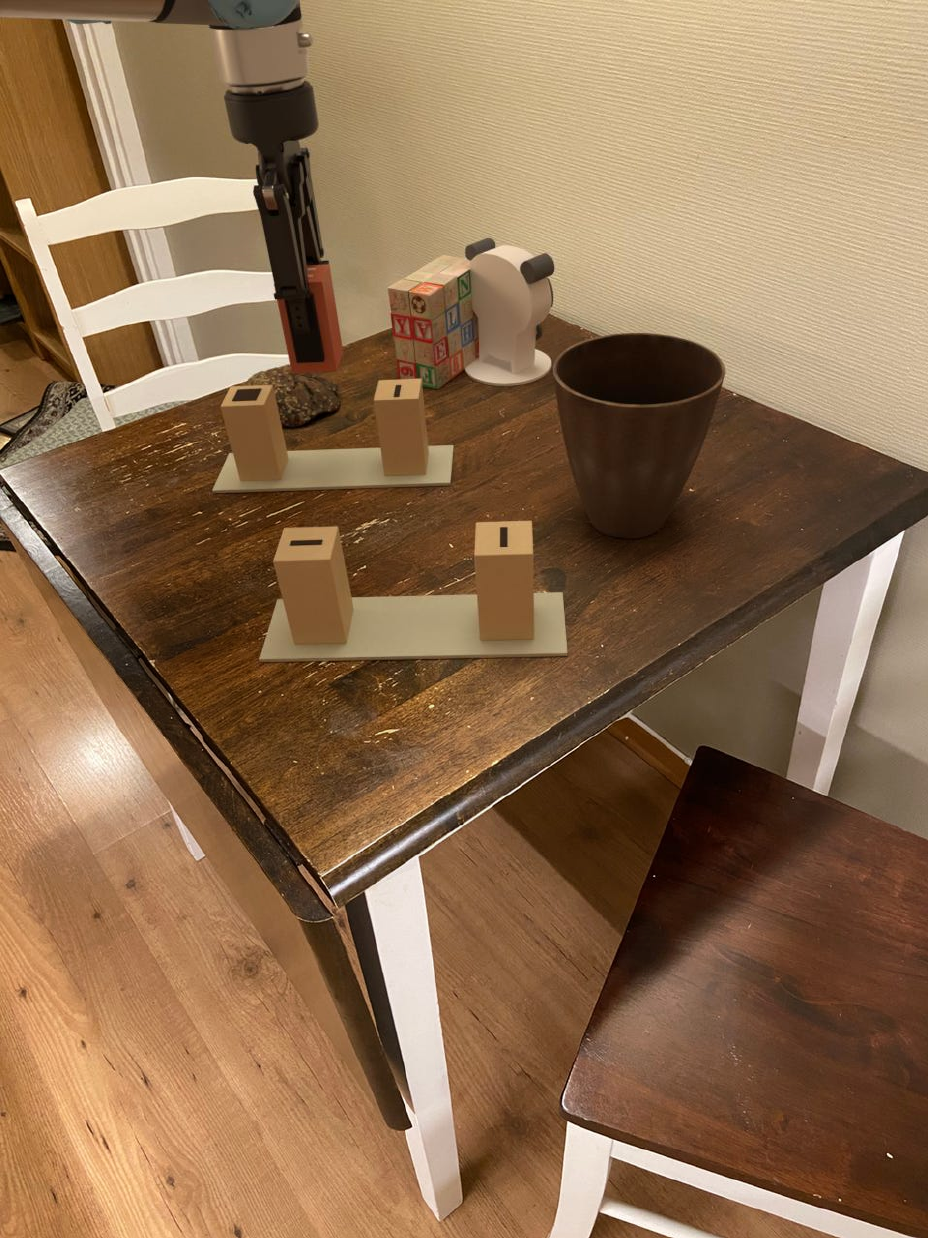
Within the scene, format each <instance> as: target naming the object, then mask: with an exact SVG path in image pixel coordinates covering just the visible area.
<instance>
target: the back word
mask: <svg viewBox="0 0 928 1238" xmlns="http://www.w3.org/2000/svg"><path fill="white" fill-rule="evenodd" d="M423 387H424V386H422V379H399V378H398V379H380V380H378V381H377V385H376V389H375V393H374V397H373V404H374V405H373V406H374V412H375V418H376V427H377V435H378V441H379V447H362V448H361V447H360V448H332V449H330V448H329V449H307V450H287V444H286V439H285V436H284V431H283V426H282V425H281V421H280V416H279V412H278V407H277V402H276V398H275V393H274V388H273V385H256V386H240V385H235V386H234V385H233V386H230V387H229V389H228V391H227V393H226V395H225V397H224V399H223V401H222V403H221V405H220V410H221V414H222V418H223V421H224V425H225V429H226V433H227V436H228V437H227V438H228V440H229V444H230V449H231V451H232V452H229V453H228V455H227V457H226V459H225V462H224V464H223V466H222V468H221V471H220V472H219V475H218V476H217V478H216V481H215V483H214V485H213V488H212V490H211V491H212V494H233V493H234V494H235V493H236V494H237V493H263V492H264V493H265V492H295V491H324V490H327V491H328V490H352V489H354V490H357V489H385V488H388V489H389V488H416V487H419V488H420V487H443V486H447V487H448V486H451V485H452V473H453V462H454V449H455V446H454V444H443V445H442V444H440V445H439V444H438V445H429V440H428V429H427V428H428V427H427V421H426V420H427V419H426V409H425V399H424V390H423V389H424V388H423Z"/></svg>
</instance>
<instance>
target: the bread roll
mask: <svg viewBox="0 0 928 1238" xmlns="http://www.w3.org/2000/svg"><path fill="white" fill-rule="evenodd" d="M256 385H273V388H274V393H275V398H276V402H277V407H278V412H279V416H280V421H281V425H282V427H287V428H297V427H300V426H302V425H304V424H306V423H308V422H310V421H311V420H313V419H314V418H315V417H317V416H318V415H321V414H324V413H329V414H330V413H333V412H335V411H338V410H339V408H340V405H341V403H340V399H339V397H338V396H337V395H338V394H339V393H340V392H339V384H338V383H337V382H333V381H332V380H330V379H328V378H326V377H323V376H321V375H320V374H318V373H296V374H292V371H291V366H290V363H287V364H283V365H281V366H278V367H277V366H276V367H272V368H269V369H267V370H260V371H258V372H255V373H254V374H252V375H251V376H250V377H249V378H247V380H246V381H242V384H239V386H256Z"/></svg>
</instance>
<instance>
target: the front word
mask: <svg viewBox="0 0 928 1238" xmlns="http://www.w3.org/2000/svg"><path fill="white" fill-rule="evenodd" d="M533 535H534V534H533V521H532V520H510V521H507V520H505V521H478V522H475V533H474V552H473V553H474V555H473V556H474V571H475V573H474V574H475V587H476V594H475V593H473V594H468V593H467V594H438V595H437V594H436V595H434V594H433V595H431V594H429V595H395V596H394V595H391V596H389V595H388V596H353V597H352V594H351V592H352V591H351V587H350V583H349V577H348V572H347V567H346V561H345V560H346V559H345V555H344V549H343V545H342V538H341V533H340V527H339V526H338V525H337V526H308V527H307V526H306V527H284V528H283V530H282V533H281V535H280V539H279V542H278V545H277V548H276V551H275V554H274V558H273V560H272V562H273V566H274V570H275V574H276V578H277V583H278V586H279V590H280V594H281V598H277V599H276V602H275V606H274V610H273V613H272V615H271V619H270V623H269V625H268V629H267V632H266V635H265V639H264V642H263V645H262V648H261V652H260V655H259V657H258V660H259V663H291V662H293V663H294V662H297V663H298V662H340V661H342V662H345V661H347V662H348V661H389V660H390V661H391V660H435V659H436V660H440V659H442V660H443V659H445V660H446V659H488V658H489V659H491V658H493V659H494V658H495V659H496V658H537V657H538V658H539V657H540V658H541V657H568V655H569V654H568V653H569V652H568V642H567V627H566V616H565V603H564V592H563V591H555V592H554V591H553V592H551V591H550V592H535V585H534V583H535V582H534V581H535V579H534V577H535V576H534V575H535V574H534V572H535V571H534V539H533V538H534V536H533Z"/></svg>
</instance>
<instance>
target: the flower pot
mask: <svg viewBox="0 0 928 1238" xmlns="http://www.w3.org/2000/svg"><path fill="white" fill-rule="evenodd" d="M726 372H727V371H726V365H725V363H724V362H723V360H722V358H721V357H720V356H719V355H718V354H717V353H716V352H714V351H713V350H712V349H710V348H708V347H706V346H705V345H703V344H700V343H698V342H695V341H693V340H689V339H686V338H682V337H678V336H674V335H669V334H662V333H653V332H622V333H612V334H606V335H599V336H596V337H592V338H587V339H585V340H582V341H580V342H577V343H574V344H573V345H570V346H569V347H567V348H566V349H564V350H563V351H561V353H560V354H559V355H558V356H557V357H556V359H555V360H554V362H553V365H552V374H553V384H554V391H555V397H556V404H557V411H558V417H559V423H560V429H561V433H562V438H563V442H564V447H565V452H566V455H567V459H568V462H569V466H570V469H571V474H572V476H573V479H574V483H575V485H576V489H577V491H578V494H579V498H580V499H581V502H582V505H583V508H584V510H585V513H586V515H587V518H588V520H589V522H590V524H591V525H592V527H594V528H595V529H596V530H597V531H598V532H600V533H602V534H604V535H606V536H610V537H612V538H613V537H614V538H617V539H626V540H627V539H640V538H645V537H648V536H651V535H652V534H654V533H656V532H658V531H659V530H660V529H661V528H662V527H663V526H664V524H665V523H666V521H667V519H668V517H669V516H670V514H671V512H672V511H673V509H674V507H675V505H676V503H677V501H678V499H679V498H680V496H681V494H682V492H683V490H684V488H685V486H686V485H687V482H688V480H689V477H690V476H691V474H692V472H693V469H694V467H695V464H696V463H697V459H698V458H699V455H700V452H701V450H702V448H703V445H704V442H705V440H706V437H707V434H708V431H709V429H710V425H711V423H712V419H713V417H714V414H715V410H716V407H717V404H718V400H719V397H720V394H721V390H722V388H723V383H724V380H725V377H726Z"/></svg>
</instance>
